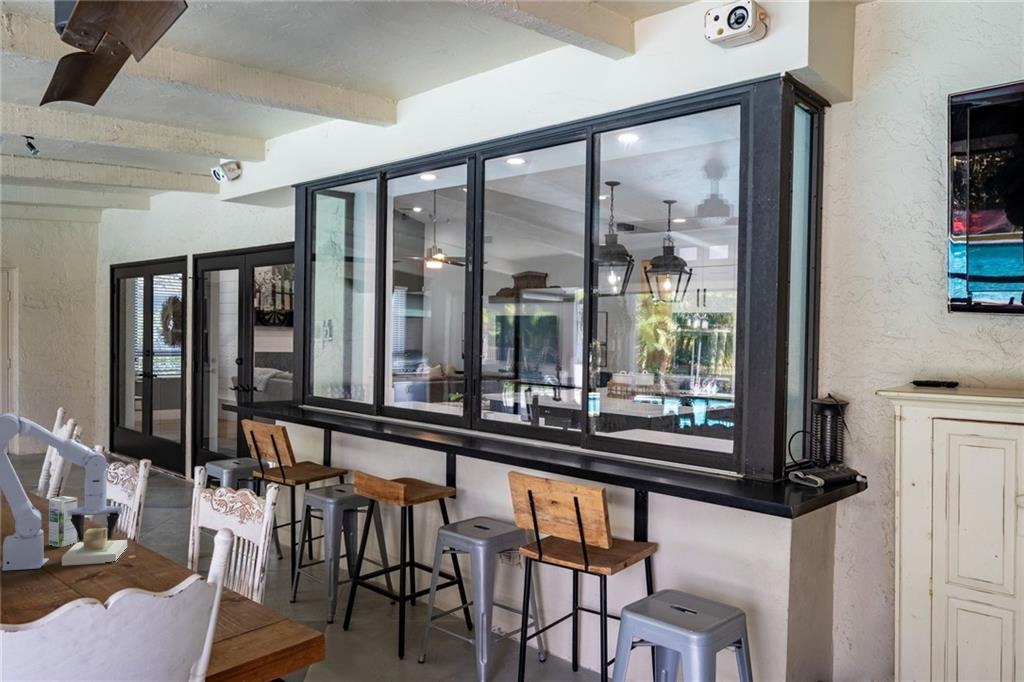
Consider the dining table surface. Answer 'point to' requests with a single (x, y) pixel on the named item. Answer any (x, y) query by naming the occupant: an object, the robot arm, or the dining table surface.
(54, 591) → the dining table surface
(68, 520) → the syrup box
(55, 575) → the dining table surface
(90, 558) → the base plinth
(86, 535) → the birch block
